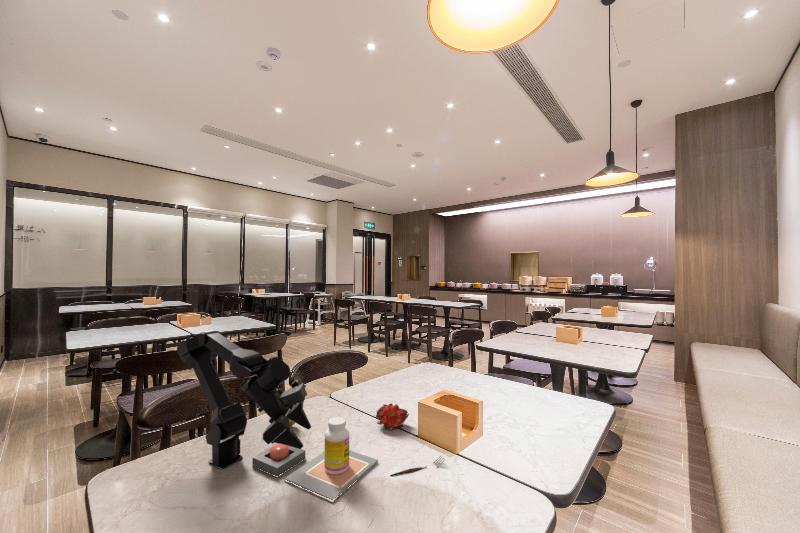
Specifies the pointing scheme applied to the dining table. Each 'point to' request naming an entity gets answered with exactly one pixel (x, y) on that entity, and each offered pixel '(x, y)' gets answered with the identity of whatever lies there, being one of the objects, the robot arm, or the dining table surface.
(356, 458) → the picture board
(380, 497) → the dining table surface
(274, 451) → the button
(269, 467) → the button frame
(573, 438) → the dining table surface
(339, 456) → the supplement bottle
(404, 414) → the dragon fruit
